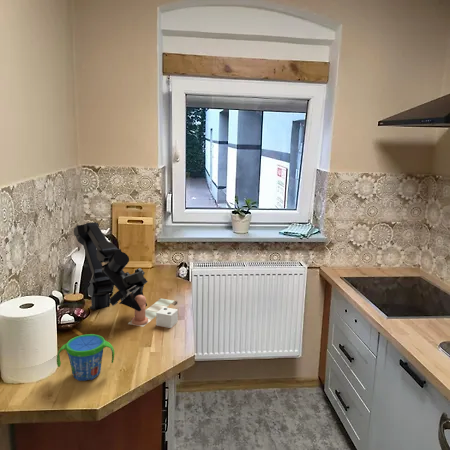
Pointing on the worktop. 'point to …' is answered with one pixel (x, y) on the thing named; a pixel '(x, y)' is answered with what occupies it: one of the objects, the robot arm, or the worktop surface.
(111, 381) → the worktop surface
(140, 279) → the robot arm
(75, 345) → the snack cup
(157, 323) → the die
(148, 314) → the board
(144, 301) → the pawn
